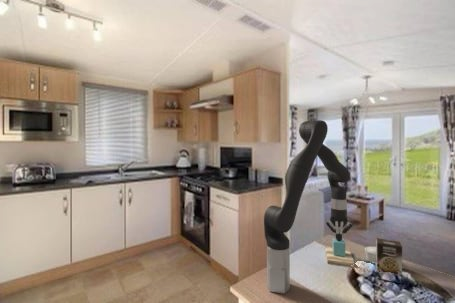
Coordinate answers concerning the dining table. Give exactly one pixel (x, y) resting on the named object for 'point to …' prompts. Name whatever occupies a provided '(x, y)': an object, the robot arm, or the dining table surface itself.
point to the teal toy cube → (338, 247)
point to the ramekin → (371, 254)
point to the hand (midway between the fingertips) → (338, 240)
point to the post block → (339, 257)
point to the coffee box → (388, 256)
